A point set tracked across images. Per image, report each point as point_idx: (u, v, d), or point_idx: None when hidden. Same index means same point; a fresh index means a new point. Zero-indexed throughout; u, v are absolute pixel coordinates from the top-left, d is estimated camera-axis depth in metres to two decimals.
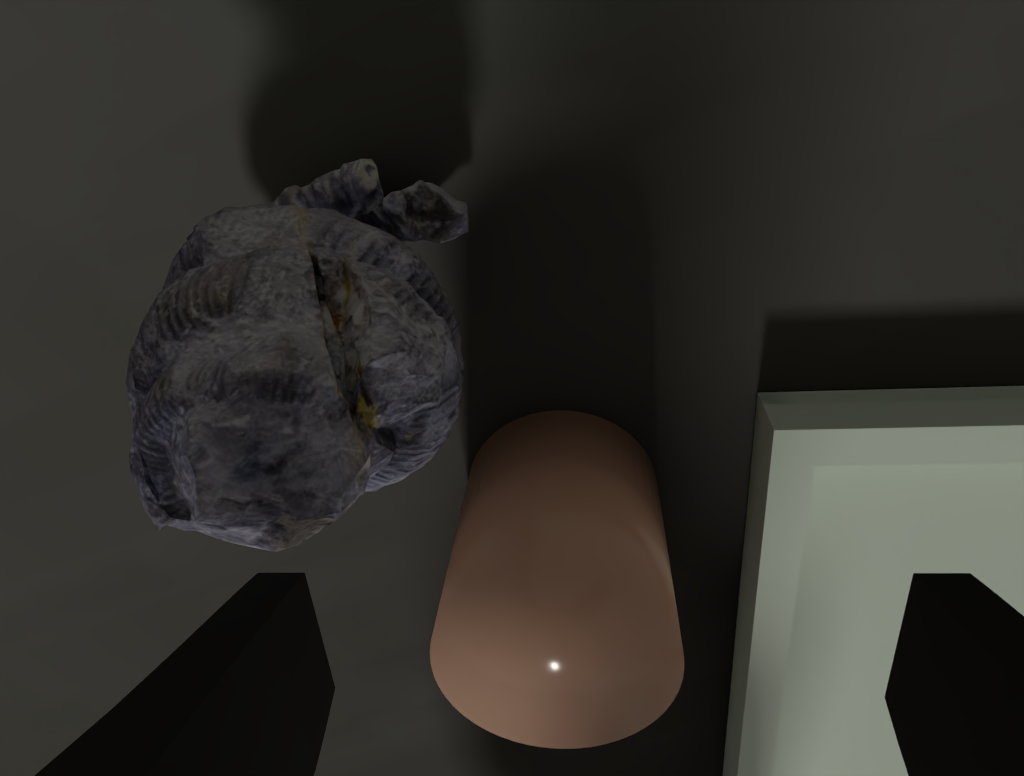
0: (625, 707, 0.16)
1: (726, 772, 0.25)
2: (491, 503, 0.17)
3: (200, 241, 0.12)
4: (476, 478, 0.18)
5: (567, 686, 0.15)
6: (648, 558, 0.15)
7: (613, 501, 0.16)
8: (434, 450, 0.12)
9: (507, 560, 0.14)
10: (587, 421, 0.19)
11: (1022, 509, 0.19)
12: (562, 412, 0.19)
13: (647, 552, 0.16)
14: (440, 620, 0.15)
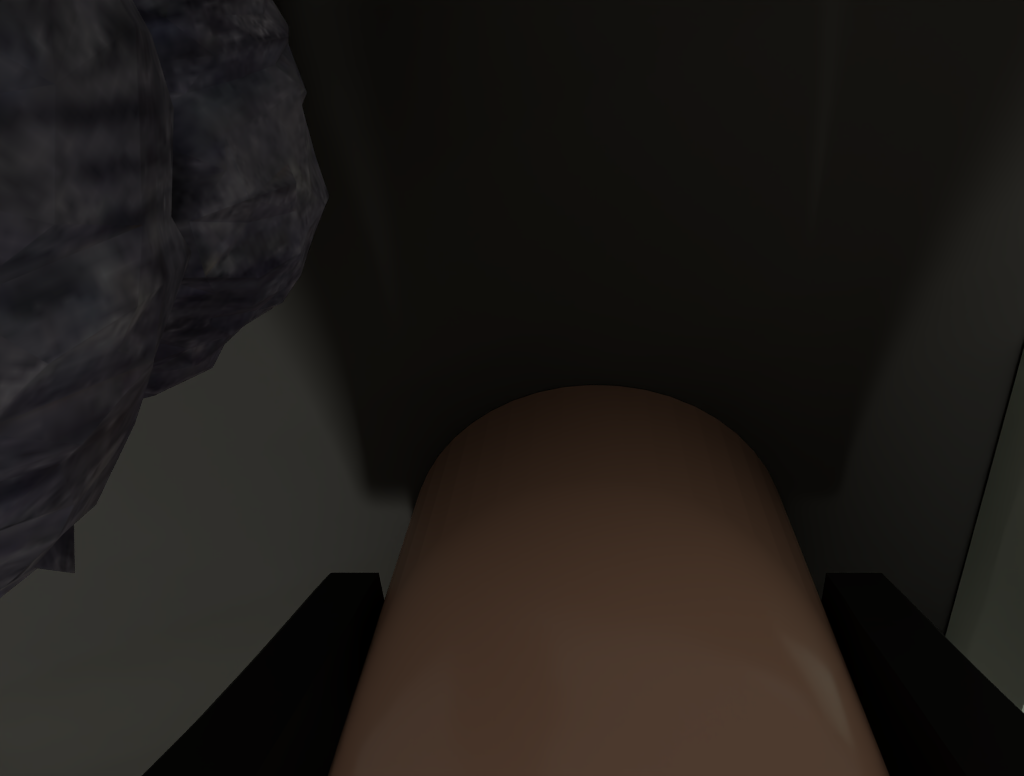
0: None
1: None
2: (437, 607, 0.07)
3: None
4: (417, 530, 0.09)
5: None
6: None
7: (751, 610, 0.06)
8: None
9: None
10: (656, 408, 0.09)
11: None
12: (601, 389, 0.09)
13: (862, 764, 0.06)
14: None
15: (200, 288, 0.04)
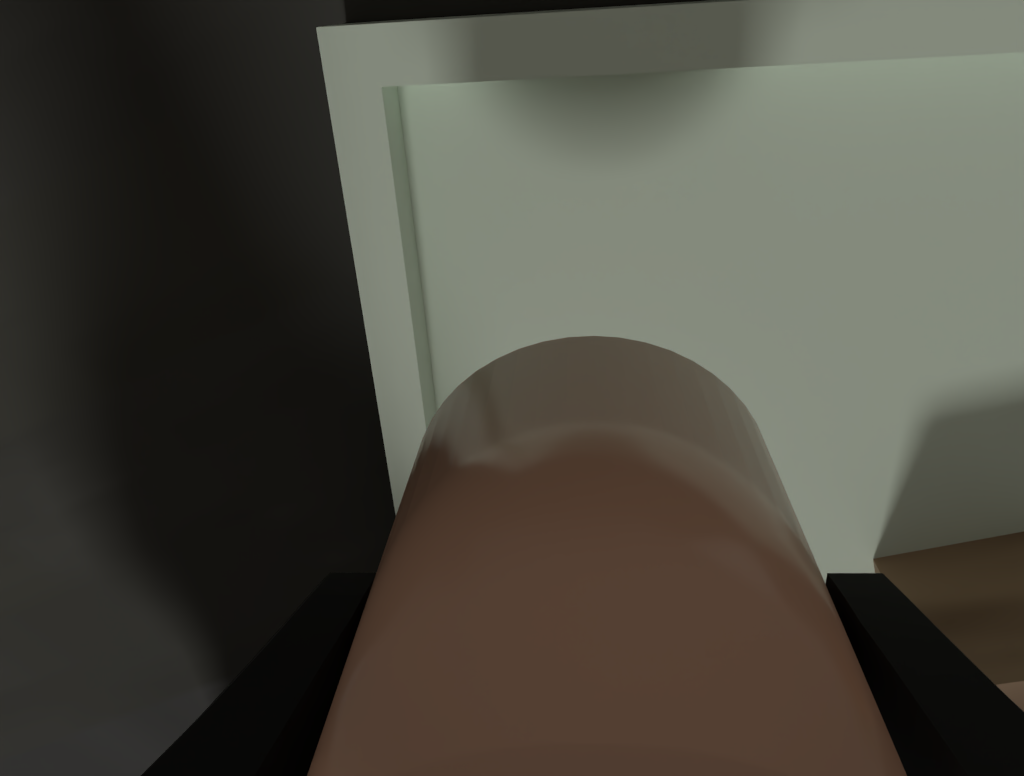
0: None
1: None
2: (424, 538, 0.07)
3: None
4: (410, 483, 0.09)
5: None
6: (829, 656, 0.06)
7: (714, 514, 0.07)
8: None
9: (442, 708, 0.05)
10: (629, 352, 0.09)
11: (691, 187, 0.15)
12: (577, 340, 0.10)
13: (821, 642, 0.06)
14: None
15: None
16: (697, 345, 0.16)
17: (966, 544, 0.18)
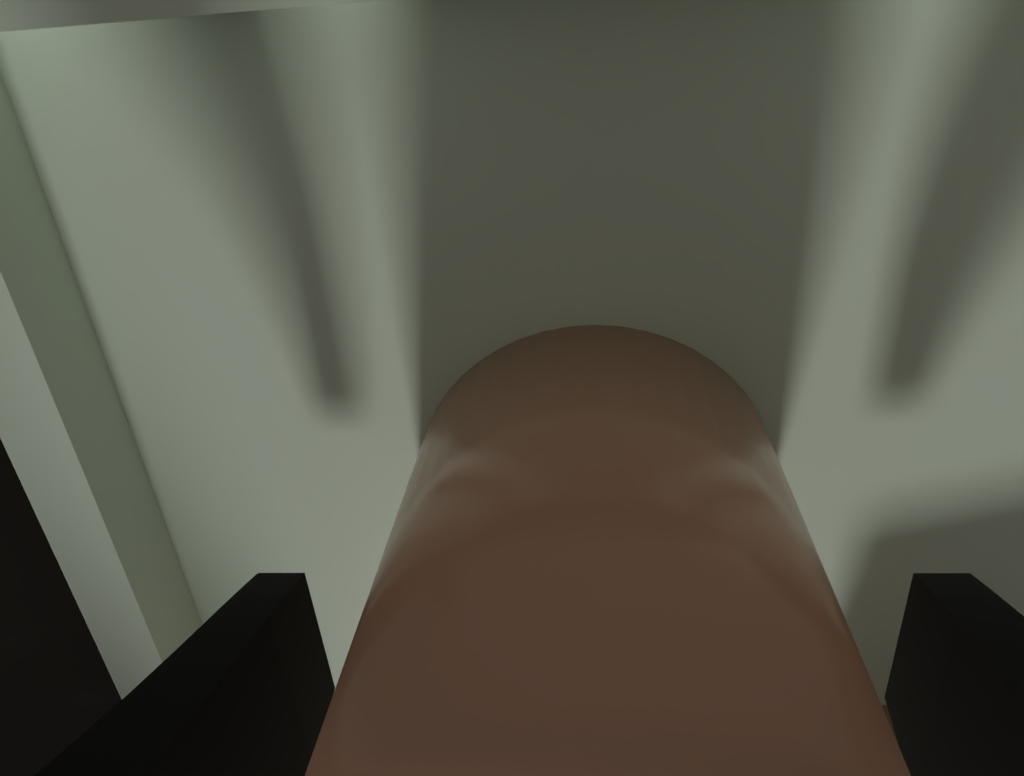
0: None
1: None
2: (427, 520, 0.07)
3: None
4: (415, 470, 0.09)
5: None
6: (822, 631, 0.06)
7: (711, 496, 0.07)
8: None
9: (443, 677, 0.05)
10: (630, 340, 0.09)
11: (476, 198, 0.09)
12: (579, 329, 0.10)
13: (814, 618, 0.06)
14: None
15: None
16: None
17: None
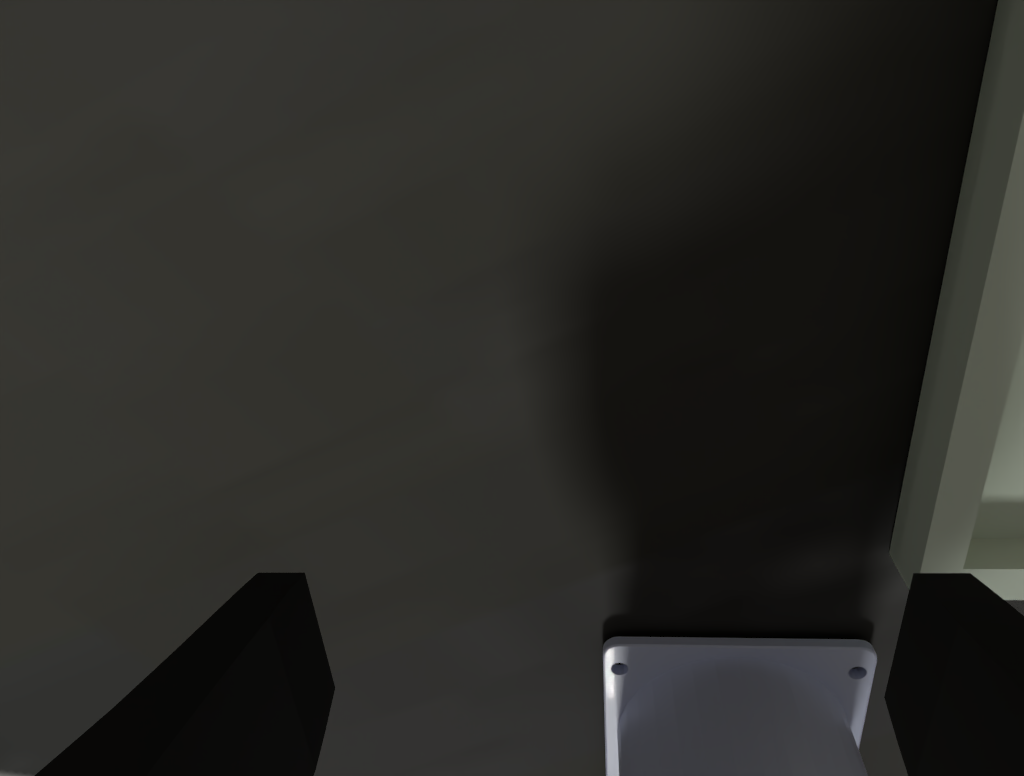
0: None
1: (919, 444, 0.19)
2: None
3: None
4: None
5: None
6: None
7: None
8: None
9: None
10: None
11: None
12: None
13: None
14: None
15: None
16: None
17: None
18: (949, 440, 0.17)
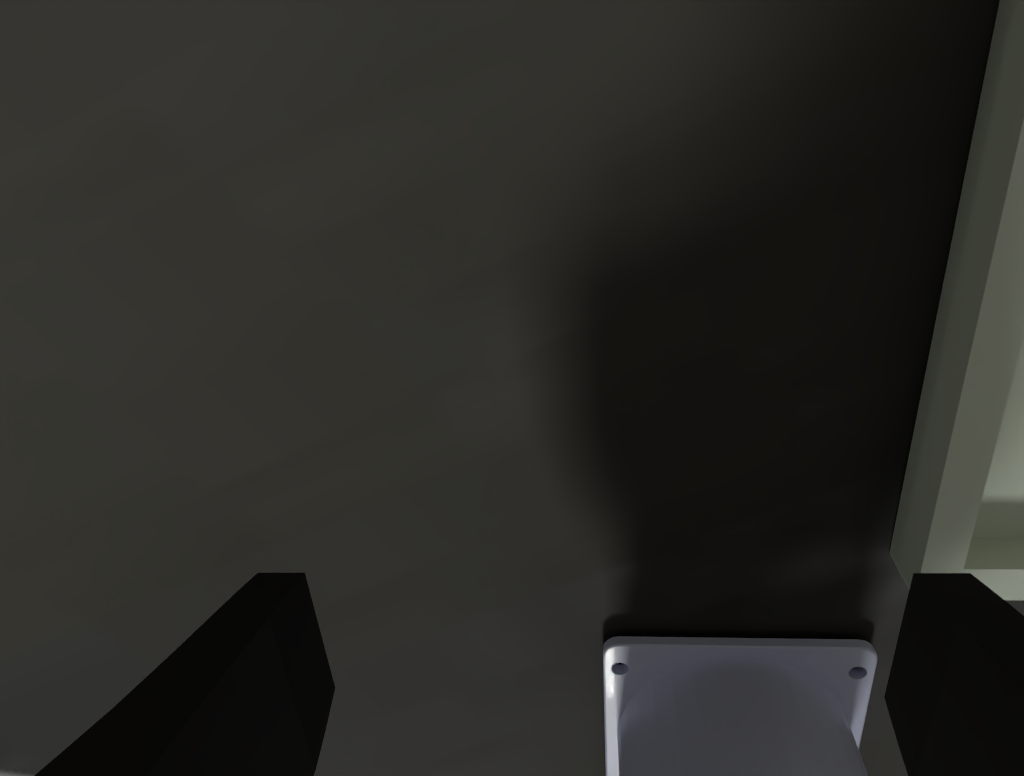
0: None
1: (920, 444, 0.19)
2: None
3: None
4: None
5: None
6: None
7: None
8: None
9: None
10: None
11: None
12: None
13: None
14: None
15: None
16: None
17: None
18: (950, 440, 0.17)
